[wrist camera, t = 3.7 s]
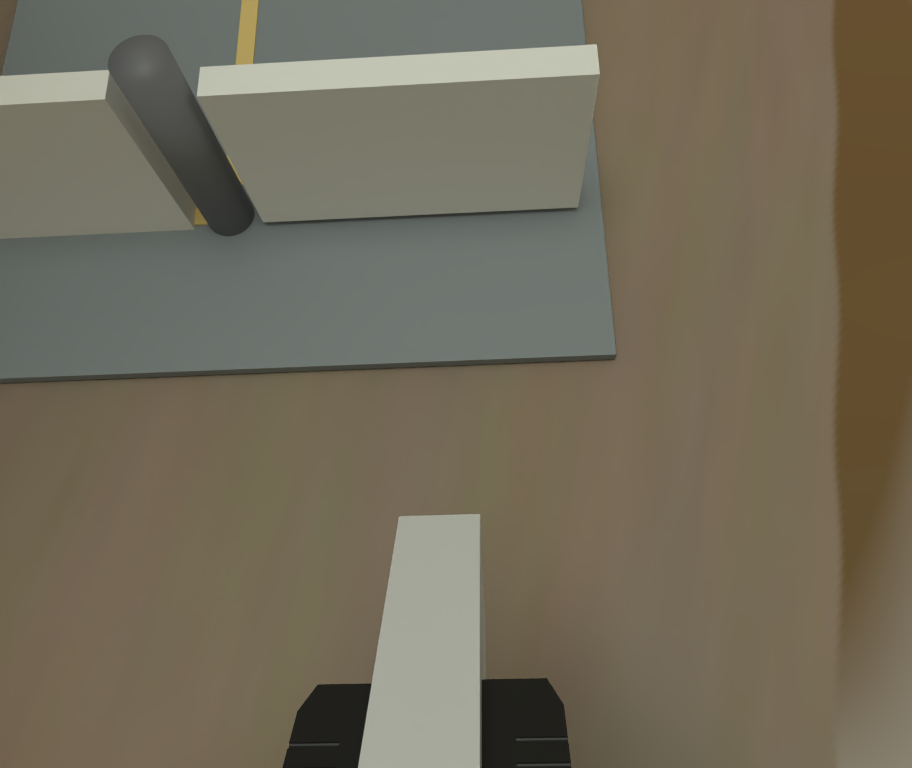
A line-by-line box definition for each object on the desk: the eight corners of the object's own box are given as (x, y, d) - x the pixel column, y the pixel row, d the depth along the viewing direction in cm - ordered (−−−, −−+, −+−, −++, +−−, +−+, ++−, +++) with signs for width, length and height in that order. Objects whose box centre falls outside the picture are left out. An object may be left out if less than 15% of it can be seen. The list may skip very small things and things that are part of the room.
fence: (-38, 248, 33) (-220, 105, 25) (-29, 208, 34) (-203, 54, 26) (252, 235, 33) (166, 83, 24) (256, 194, 34) (173, 32, 25)
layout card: (-60, 385, 32) (-70, 380, 31) (31, -27, 39) (24, -37, 39) (614, 359, 31) (616, 353, 30) (573, -61, 38) (574, -72, 38)
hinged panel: (263, 222, 33) (196, 96, 26) (264, 197, 33) (200, 67, 26) (578, 207, 32) (599, 74, 25) (576, 182, 33) (596, 44, 25)
